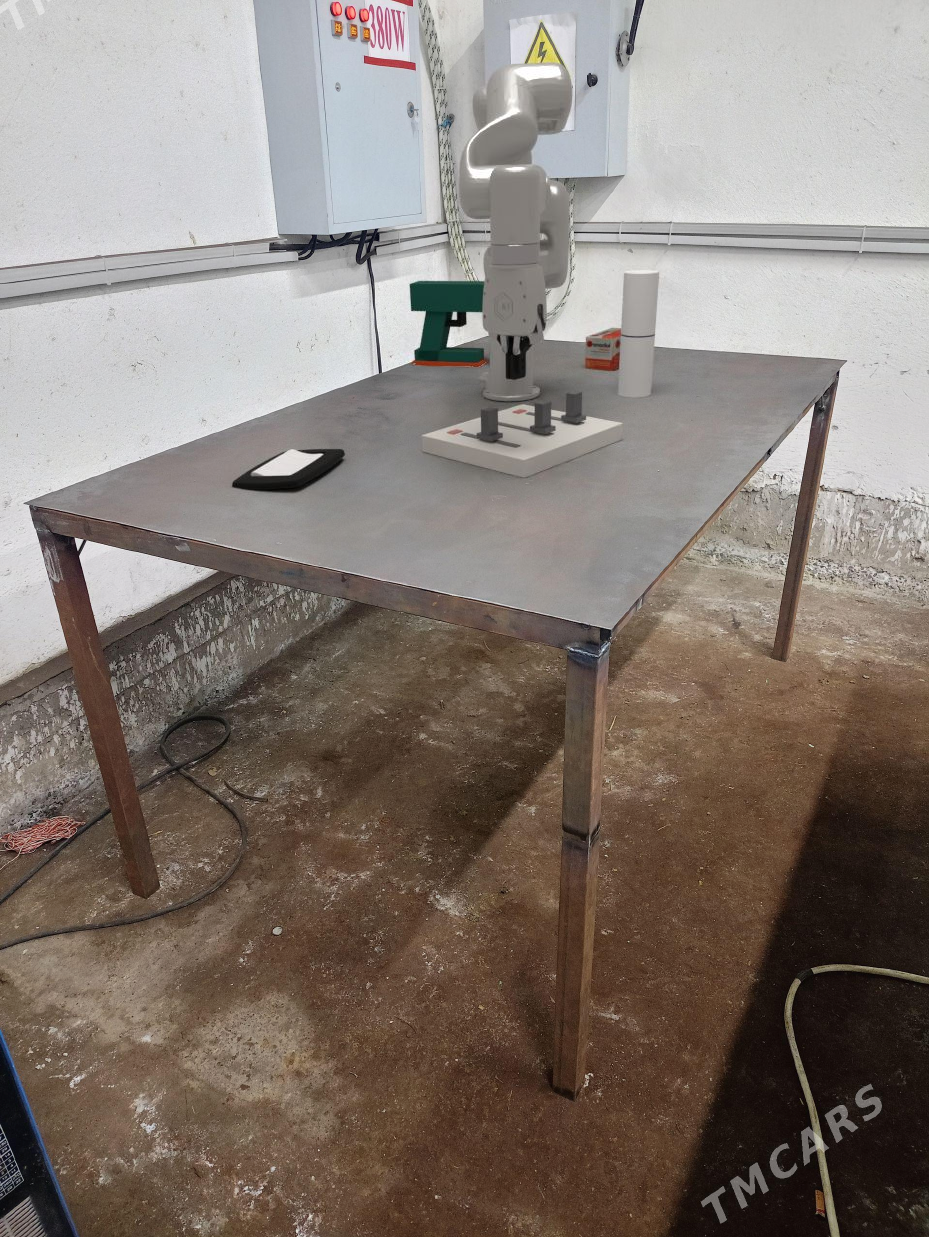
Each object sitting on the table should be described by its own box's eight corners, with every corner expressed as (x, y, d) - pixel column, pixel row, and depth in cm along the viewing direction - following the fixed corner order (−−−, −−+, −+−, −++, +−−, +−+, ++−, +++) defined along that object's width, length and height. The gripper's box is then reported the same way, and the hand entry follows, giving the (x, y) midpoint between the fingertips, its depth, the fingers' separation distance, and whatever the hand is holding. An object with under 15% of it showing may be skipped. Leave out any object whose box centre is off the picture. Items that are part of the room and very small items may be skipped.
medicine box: (610, 358, 224) (612, 326, 220) (639, 360, 220) (641, 328, 216) (583, 369, 213) (584, 336, 209) (613, 372, 209) (614, 338, 205)
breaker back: (561, 419, 157) (561, 392, 155) (570, 416, 159) (571, 389, 157) (576, 423, 155) (577, 395, 153) (586, 419, 157) (586, 392, 155)
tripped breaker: (476, 437, 149) (475, 409, 147) (487, 434, 151) (486, 405, 148) (492, 441, 147) (491, 412, 144) (502, 437, 148) (502, 408, 146)
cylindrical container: (614, 396, 186) (620, 273, 175) (621, 389, 192) (628, 269, 181) (647, 398, 184) (655, 273, 172) (653, 390, 190) (662, 270, 178)
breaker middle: (529, 430, 152) (529, 402, 149) (539, 427, 154) (539, 399, 151) (545, 434, 150) (545, 405, 147) (555, 430, 151) (556, 402, 149)
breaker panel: (422, 451, 155) (421, 434, 153) (522, 419, 172) (522, 403, 171) (524, 477, 140) (524, 458, 138) (622, 439, 157) (623, 422, 156)
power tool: (537, 364, 220) (538, 281, 210) (530, 369, 214) (530, 284, 205) (422, 360, 229) (417, 280, 220) (412, 365, 224) (407, 283, 214)
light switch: (281, 444, 156) (349, 442, 151) (284, 460, 157) (352, 457, 153) (221, 478, 140) (296, 476, 135) (226, 495, 141) (300, 494, 136)
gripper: (463, 257, 133) (466, 376, 142) (537, 260, 124) (536, 388, 133) (495, 253, 138) (496, 369, 147) (569, 256, 129) (566, 379, 137)
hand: (515, 377), depth 140 cm, fingers closed
